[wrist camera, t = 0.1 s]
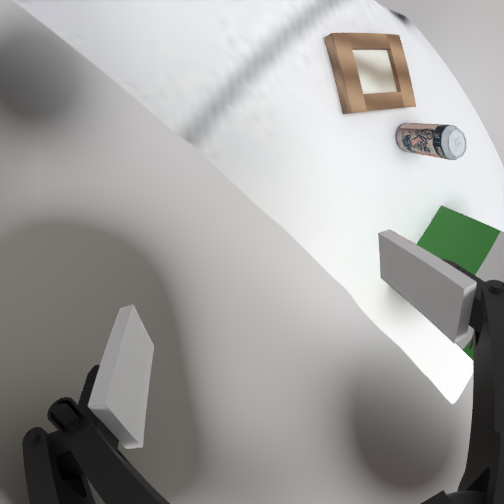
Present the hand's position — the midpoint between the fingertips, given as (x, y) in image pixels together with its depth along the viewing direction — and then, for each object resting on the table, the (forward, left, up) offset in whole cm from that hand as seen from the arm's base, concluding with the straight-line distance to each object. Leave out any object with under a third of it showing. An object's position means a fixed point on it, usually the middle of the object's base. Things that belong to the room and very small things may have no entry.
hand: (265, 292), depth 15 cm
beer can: (-2, +31, -28) cm, 42 cm away
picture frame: (-13, +26, -28) cm, 40 cm away
